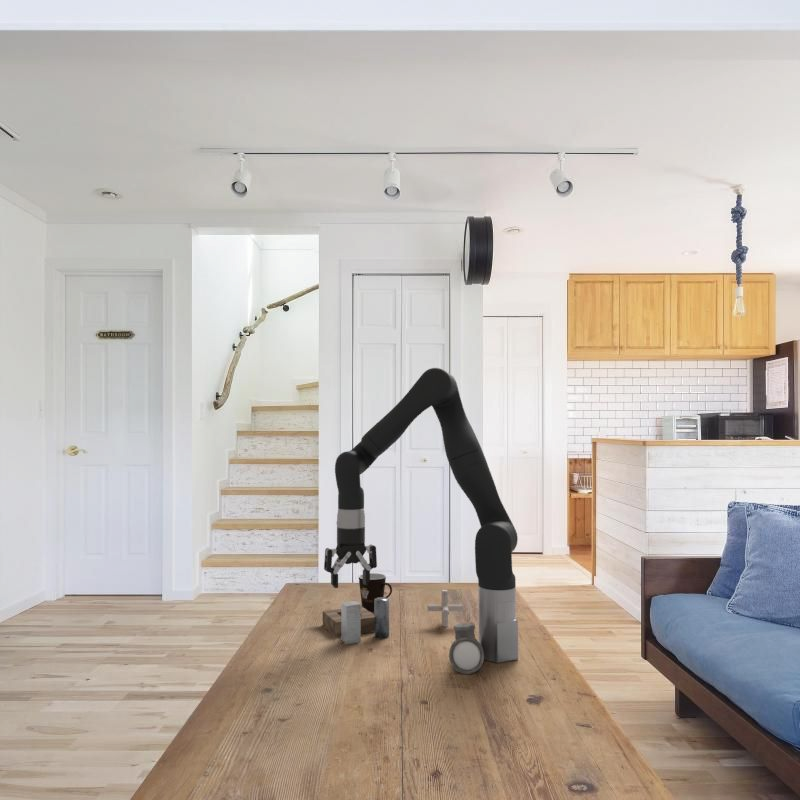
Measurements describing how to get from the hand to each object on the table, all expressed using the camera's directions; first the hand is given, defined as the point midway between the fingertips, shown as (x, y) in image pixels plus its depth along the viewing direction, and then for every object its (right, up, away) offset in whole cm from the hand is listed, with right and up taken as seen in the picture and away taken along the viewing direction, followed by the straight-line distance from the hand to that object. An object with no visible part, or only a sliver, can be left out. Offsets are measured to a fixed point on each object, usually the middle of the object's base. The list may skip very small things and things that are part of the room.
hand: (350, 585), depth 174 cm
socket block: (-1, -15, +10) cm, 18 cm away
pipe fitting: (+29, -14, -18) cm, 37 cm away
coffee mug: (+5, -16, +29) cm, 33 cm away
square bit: (0, -15, -1) cm, 15 cm away
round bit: (+8, -15, +3) cm, 17 cm away
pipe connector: (+26, -15, +12) cm, 33 cm away
